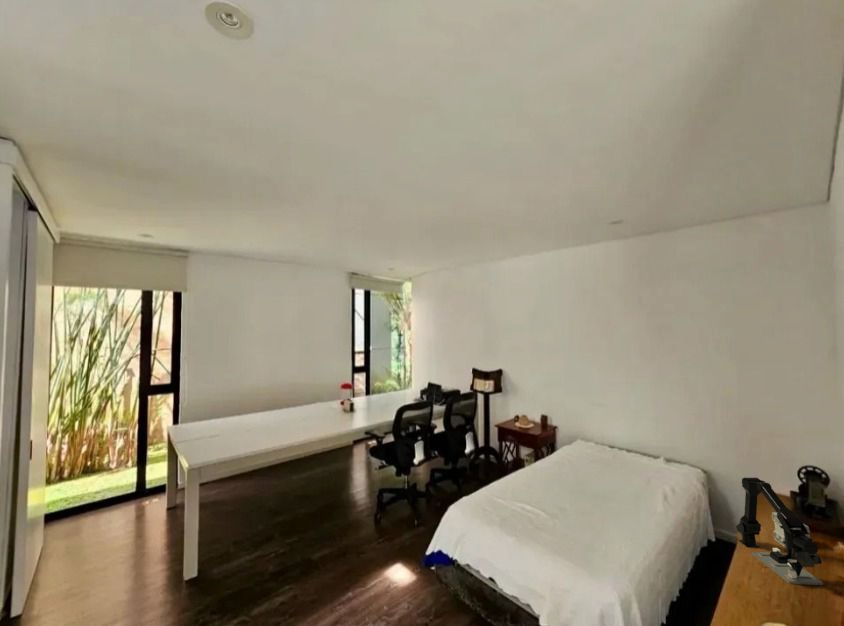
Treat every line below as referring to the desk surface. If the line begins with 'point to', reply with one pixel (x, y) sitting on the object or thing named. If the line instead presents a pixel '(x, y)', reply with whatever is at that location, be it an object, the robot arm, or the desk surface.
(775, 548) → the handle left
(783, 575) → the plate
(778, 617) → the desk surface
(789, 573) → the handle
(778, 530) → the circuit breaker
